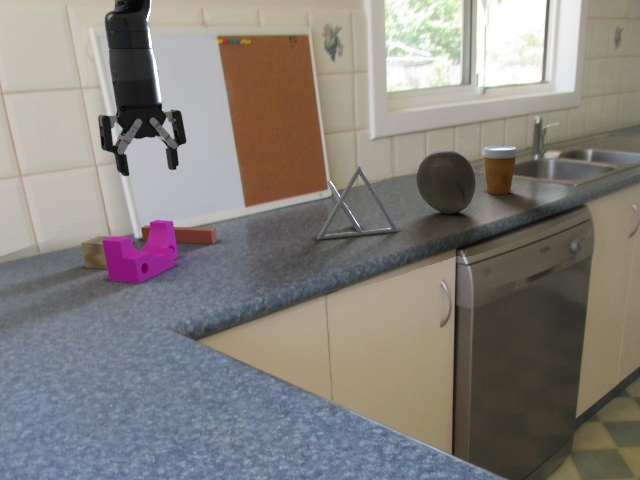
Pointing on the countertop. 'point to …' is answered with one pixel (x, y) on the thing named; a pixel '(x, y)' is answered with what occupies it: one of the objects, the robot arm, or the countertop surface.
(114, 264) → the toy block
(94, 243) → the beech cube
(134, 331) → the countertop surface
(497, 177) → the disposable coffee cup
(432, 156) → the dark grey ball
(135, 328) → the countertop surface
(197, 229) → the rail
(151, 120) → the robot arm
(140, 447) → the countertop surface
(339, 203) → the wire frame
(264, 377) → the countertop surface
